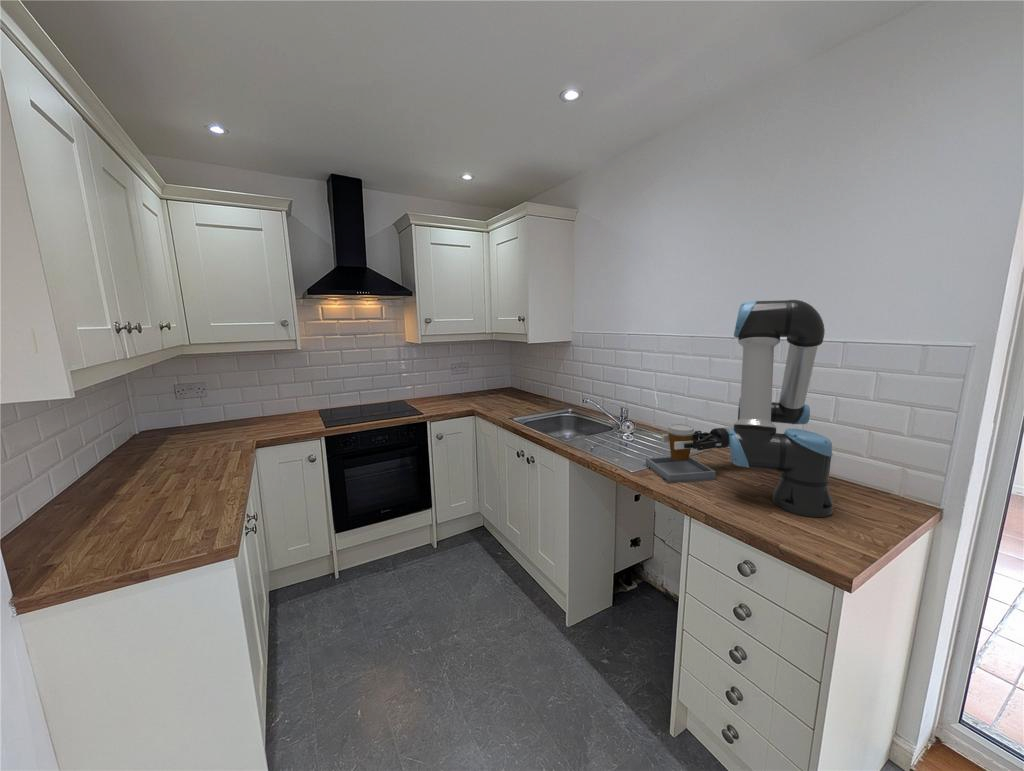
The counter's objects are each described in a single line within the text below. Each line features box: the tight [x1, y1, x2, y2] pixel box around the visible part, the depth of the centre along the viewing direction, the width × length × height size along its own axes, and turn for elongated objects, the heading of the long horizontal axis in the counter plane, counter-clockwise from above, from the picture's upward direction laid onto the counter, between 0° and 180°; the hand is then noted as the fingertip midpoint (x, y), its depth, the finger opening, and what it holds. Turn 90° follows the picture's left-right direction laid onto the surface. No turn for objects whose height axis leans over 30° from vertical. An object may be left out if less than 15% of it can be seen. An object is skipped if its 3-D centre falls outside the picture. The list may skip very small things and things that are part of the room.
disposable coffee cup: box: [667, 423, 696, 460], centre depth 150 cm, size 10×10×12 cm
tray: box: [645, 455, 717, 484], centre depth 152 cm, size 18×18×3 cm
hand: (668, 442), depth 150 cm, fingers closed on disposable coffee cup, 8 cm apart
